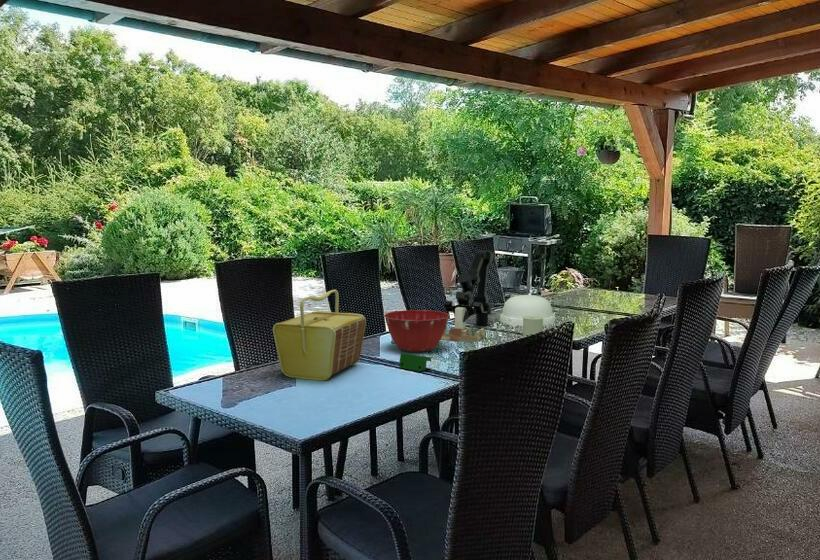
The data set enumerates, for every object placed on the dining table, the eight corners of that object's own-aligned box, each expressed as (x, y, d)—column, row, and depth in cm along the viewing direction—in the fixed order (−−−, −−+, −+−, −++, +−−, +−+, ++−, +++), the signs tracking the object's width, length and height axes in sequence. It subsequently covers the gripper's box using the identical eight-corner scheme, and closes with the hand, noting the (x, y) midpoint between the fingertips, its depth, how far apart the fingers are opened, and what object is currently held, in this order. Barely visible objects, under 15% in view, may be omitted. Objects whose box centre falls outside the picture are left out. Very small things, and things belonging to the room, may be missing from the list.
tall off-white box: (458, 333, 300) (458, 306, 298) (465, 334, 298) (465, 307, 297) (454, 335, 295) (455, 308, 294) (461, 336, 294) (462, 309, 292)
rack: (444, 334, 306) (444, 322, 306) (484, 337, 298) (484, 325, 298) (435, 339, 294) (435, 327, 294) (476, 343, 287) (476, 330, 286)
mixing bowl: (392, 340, 293) (392, 308, 291) (453, 343, 287) (453, 309, 285) (377, 355, 265) (376, 319, 263) (444, 357, 259) (444, 321, 257)
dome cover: (522, 314, 362) (522, 290, 360) (567, 321, 341) (568, 295, 339) (487, 321, 340) (487, 296, 338) (533, 329, 319) (533, 302, 317)
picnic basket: (334, 384, 222) (332, 300, 219) (271, 377, 231) (269, 297, 228) (368, 364, 249) (367, 289, 246) (311, 359, 258) (309, 287, 255)
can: (520, 343, 285) (520, 317, 284) (524, 339, 294) (525, 314, 292) (540, 345, 282) (541, 318, 280) (544, 340, 290) (545, 315, 289)
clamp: (425, 380, 242) (436, 359, 241) (416, 380, 237) (427, 359, 236) (404, 363, 249) (414, 344, 248) (395, 363, 244) (405, 343, 243)
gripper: (444, 284, 301) (436, 310, 292) (482, 285, 294) (474, 312, 285) (450, 298, 309) (442, 324, 301) (486, 300, 302) (479, 326, 293)
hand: (459, 321), depth 295 cm, fingers closed on tall off-white box, 4 cm apart
